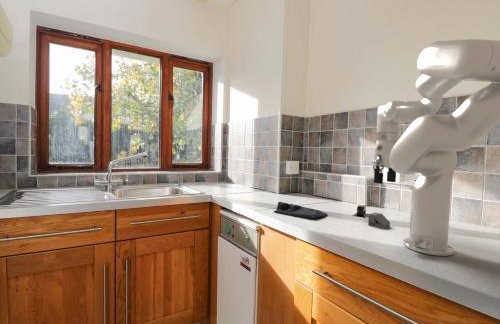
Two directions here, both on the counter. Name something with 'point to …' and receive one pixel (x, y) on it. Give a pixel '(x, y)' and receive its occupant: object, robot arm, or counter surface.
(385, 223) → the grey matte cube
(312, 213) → the dark grey rough slab
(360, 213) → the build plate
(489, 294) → the counter surface
